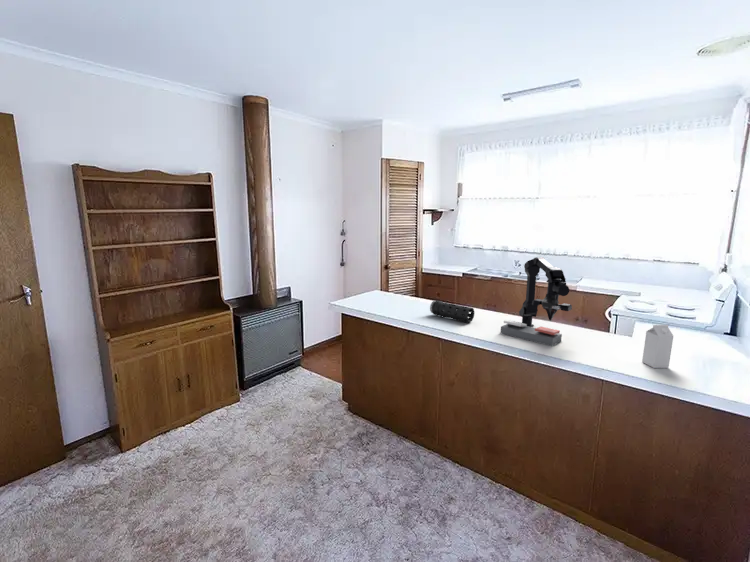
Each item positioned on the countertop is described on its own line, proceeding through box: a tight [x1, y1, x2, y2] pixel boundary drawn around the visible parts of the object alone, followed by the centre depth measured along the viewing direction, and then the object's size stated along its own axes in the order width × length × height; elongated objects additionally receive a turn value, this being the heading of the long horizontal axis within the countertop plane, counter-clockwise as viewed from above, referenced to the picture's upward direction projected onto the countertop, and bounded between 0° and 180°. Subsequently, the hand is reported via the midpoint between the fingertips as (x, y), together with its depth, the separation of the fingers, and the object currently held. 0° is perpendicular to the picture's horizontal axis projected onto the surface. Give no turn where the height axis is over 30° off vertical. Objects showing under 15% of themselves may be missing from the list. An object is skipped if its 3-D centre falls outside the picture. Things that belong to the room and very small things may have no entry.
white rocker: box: [503, 320, 527, 327], centre depth 219 cm, size 8×10×1 cm
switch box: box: [500, 323, 563, 347], centre depth 214 cm, size 12×29×5 cm, turn 44°
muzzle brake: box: [429, 300, 475, 324], centre depth 248 cm, size 10×28×10 cm, turn 47°
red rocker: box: [534, 326, 561, 335], centre depth 207 cm, size 8×10×1 cm
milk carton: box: [641, 324, 674, 369], centre depth 174 cm, size 7×7×19 cm
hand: (550, 320), depth 208 cm, fingers closed
